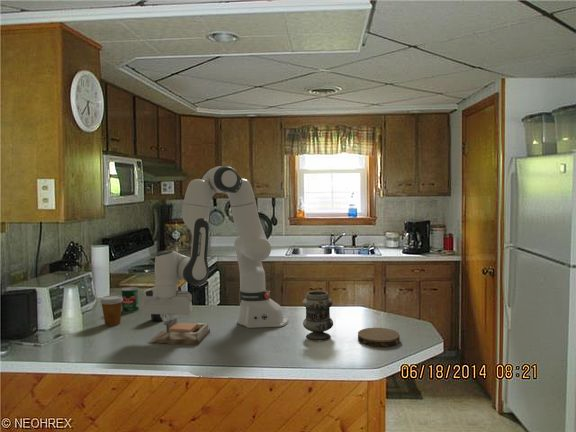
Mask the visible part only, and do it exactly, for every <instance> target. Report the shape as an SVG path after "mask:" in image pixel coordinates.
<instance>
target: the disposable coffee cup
mask: <svg viewBox="0 0 576 432" xmlns="http://www.w3.org/2000/svg"><path fill="white" fill-rule="evenodd" d="M122 301H123V298H122V294H121V295H118V294H111V295H105V296H102V297H101V298H100V304H101V307H102V314H103V319H104V324H105V326H107V327H113V326H118V325H120V324H121V317H122Z"/></svg>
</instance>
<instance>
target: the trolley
mask: <svg viewBox="0 0 576 432" xmlns="http://www.w3.org/2000/svg"><path fill="white" fill-rule="evenodd" d="M165 326H166V330H167V332H169V336H170V332H190V333H195V332H196V328H198V324H195V323H193V322H187V323H186V322H178V321H177V317H173V319H172V320H171V321H169V322H168V323H167V324H166V325H165ZM166 330H165V331H166Z"/></svg>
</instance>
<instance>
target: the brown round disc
mask: <svg viewBox="0 0 576 432" xmlns="http://www.w3.org/2000/svg"><path fill="white" fill-rule="evenodd" d="M357 342H358V343H359V344H361V345H363V346H367V347H370V348H383V349H384V348H393V347H396V346H398V345H399V344H400V343H401V342H400V333H399V332H398V331H396V330H393V329H390V328H386V327H366V328H363V329H360V330H359V331H358V332H357Z"/></svg>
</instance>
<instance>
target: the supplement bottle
mask: <svg viewBox="0 0 576 432" xmlns="http://www.w3.org/2000/svg"><path fill="white" fill-rule="evenodd" d="M165 318H166V319H167V314H166V315H165ZM150 320H151V321H152V322H162V321H163V320H162V318H161V317H160V314H150Z"/></svg>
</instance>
